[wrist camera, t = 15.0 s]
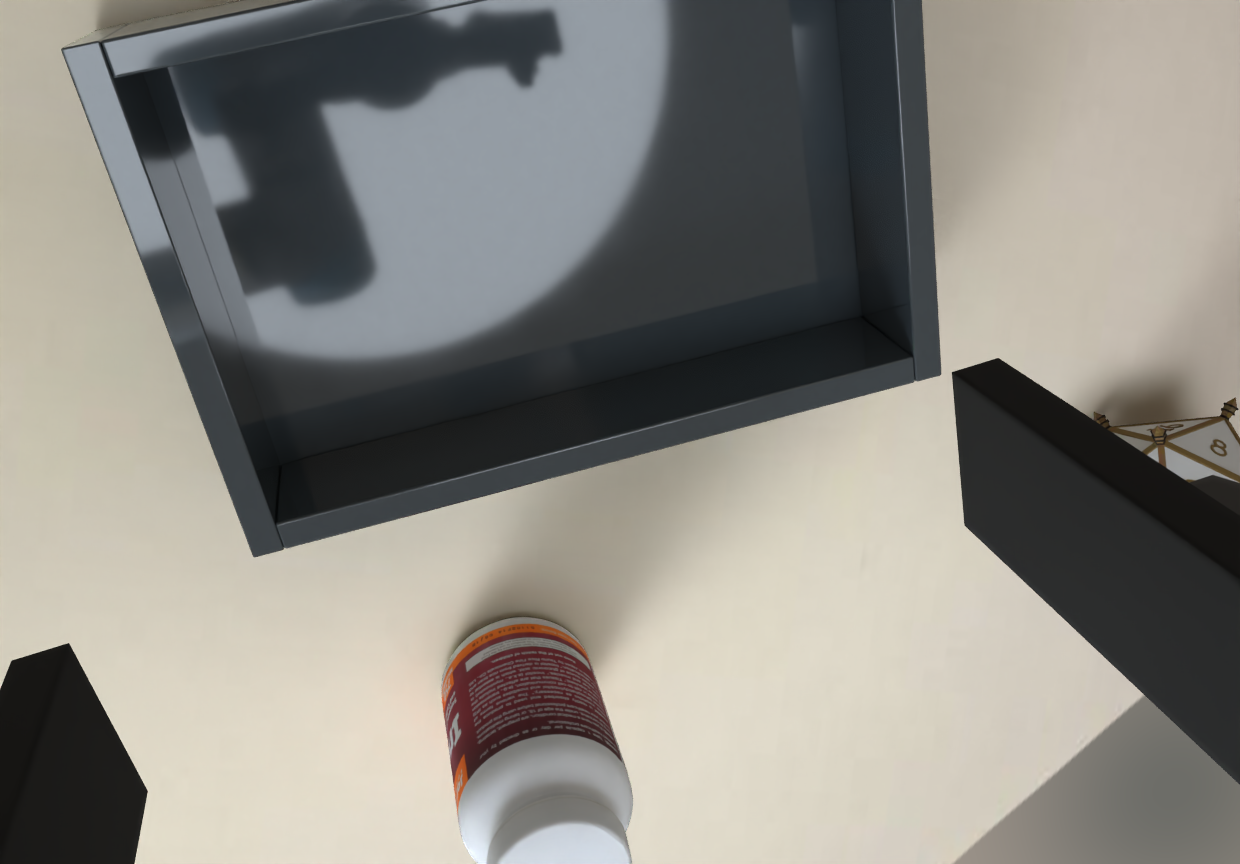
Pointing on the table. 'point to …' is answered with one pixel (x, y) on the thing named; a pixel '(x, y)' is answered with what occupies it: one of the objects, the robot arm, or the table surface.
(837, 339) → the tray
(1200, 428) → the game die
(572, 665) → the pill bottle
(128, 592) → the table surface
